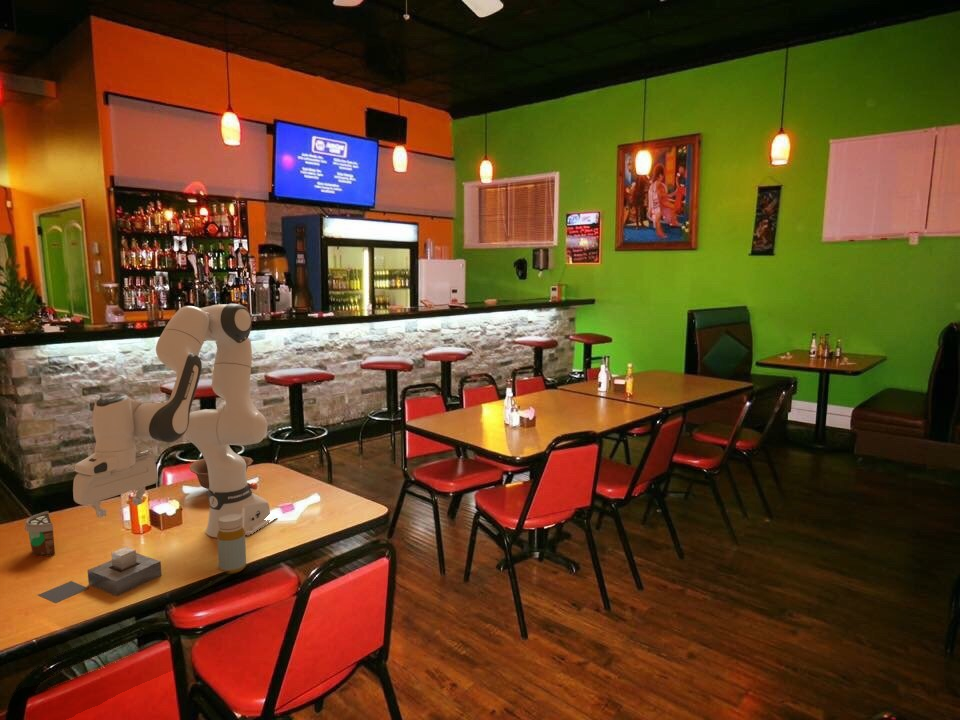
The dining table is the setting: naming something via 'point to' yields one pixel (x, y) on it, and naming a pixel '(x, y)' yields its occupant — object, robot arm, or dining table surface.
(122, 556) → the steel plug
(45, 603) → the dining table surface
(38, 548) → the food container
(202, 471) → the bowl
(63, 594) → the rubber pad
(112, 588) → the socket block
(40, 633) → the dining table surface
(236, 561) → the bottle
